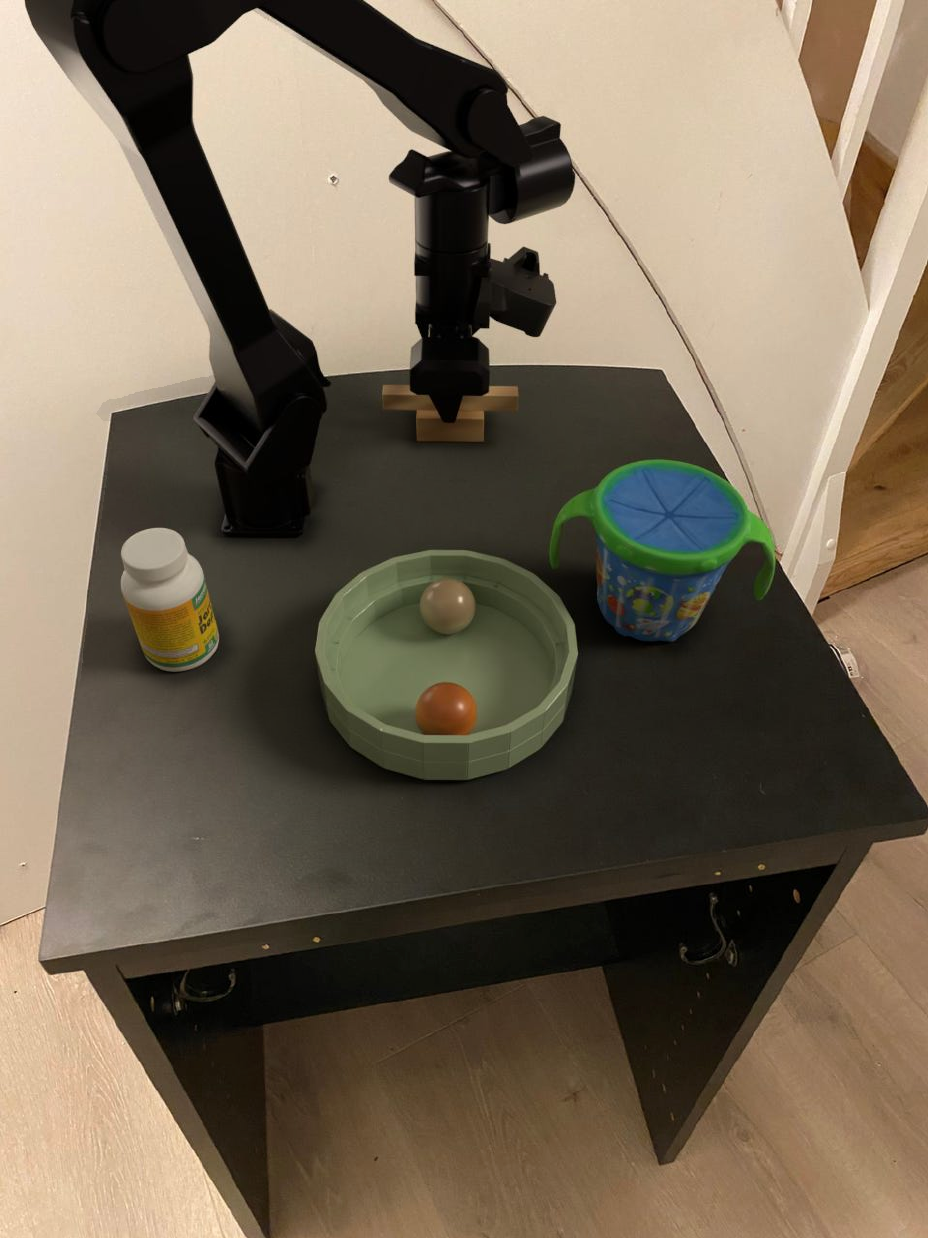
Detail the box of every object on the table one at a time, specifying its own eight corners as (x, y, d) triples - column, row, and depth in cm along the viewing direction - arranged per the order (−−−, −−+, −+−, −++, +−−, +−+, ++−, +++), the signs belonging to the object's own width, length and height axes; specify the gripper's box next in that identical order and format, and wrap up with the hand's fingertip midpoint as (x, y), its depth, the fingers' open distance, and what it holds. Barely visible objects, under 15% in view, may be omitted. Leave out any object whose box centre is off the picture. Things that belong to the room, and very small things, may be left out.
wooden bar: (383, 409, 84) (382, 394, 83) (384, 399, 85) (383, 384, 84) (517, 411, 84) (518, 395, 83) (516, 401, 85) (517, 385, 84)
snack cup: (759, 586, 72) (795, 481, 65) (745, 686, 66) (784, 582, 58) (562, 543, 76) (575, 438, 68) (529, 635, 69) (539, 529, 61)
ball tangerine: (414, 756, 60) (413, 718, 58) (416, 707, 63) (415, 668, 60) (476, 757, 60) (478, 719, 58) (476, 708, 63) (477, 669, 60)
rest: (416, 441, 85) (416, 418, 83) (418, 415, 88) (417, 392, 86) (483, 442, 85) (484, 418, 83) (482, 416, 88) (483, 393, 86)
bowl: (309, 784, 59) (301, 741, 56) (334, 592, 71) (329, 548, 68) (580, 785, 60) (588, 743, 56) (560, 594, 72) (566, 550, 68)
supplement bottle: (145, 624, 69) (111, 524, 62) (219, 614, 70) (194, 514, 63) (143, 680, 65) (107, 580, 58) (221, 668, 66) (195, 569, 59)
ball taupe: (419, 645, 67) (418, 606, 64) (420, 605, 70) (419, 566, 67) (475, 646, 67) (476, 607, 64) (474, 606, 70) (475, 566, 67)
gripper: (563, 297, 67) (545, 473, 78) (546, 191, 80) (533, 355, 91) (407, 294, 67) (411, 471, 78) (415, 188, 80) (418, 353, 91)
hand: (449, 408), depth 85 cm, fingers closed on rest, 4 cm apart
